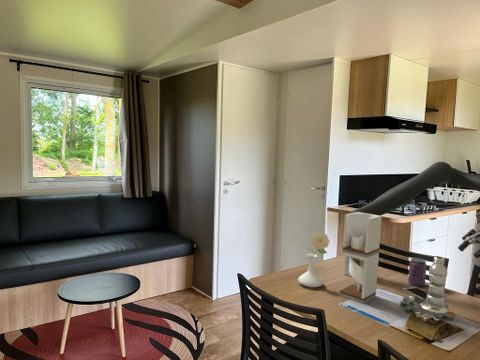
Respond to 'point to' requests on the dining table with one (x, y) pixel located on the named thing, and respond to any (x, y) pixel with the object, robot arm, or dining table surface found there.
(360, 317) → the dining table surface
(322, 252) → the flower in vase
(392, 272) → the dining table surface
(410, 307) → the sprocket plate
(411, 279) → the beverage can
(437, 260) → the silver bottle
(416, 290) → the smartphone
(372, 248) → the display case
